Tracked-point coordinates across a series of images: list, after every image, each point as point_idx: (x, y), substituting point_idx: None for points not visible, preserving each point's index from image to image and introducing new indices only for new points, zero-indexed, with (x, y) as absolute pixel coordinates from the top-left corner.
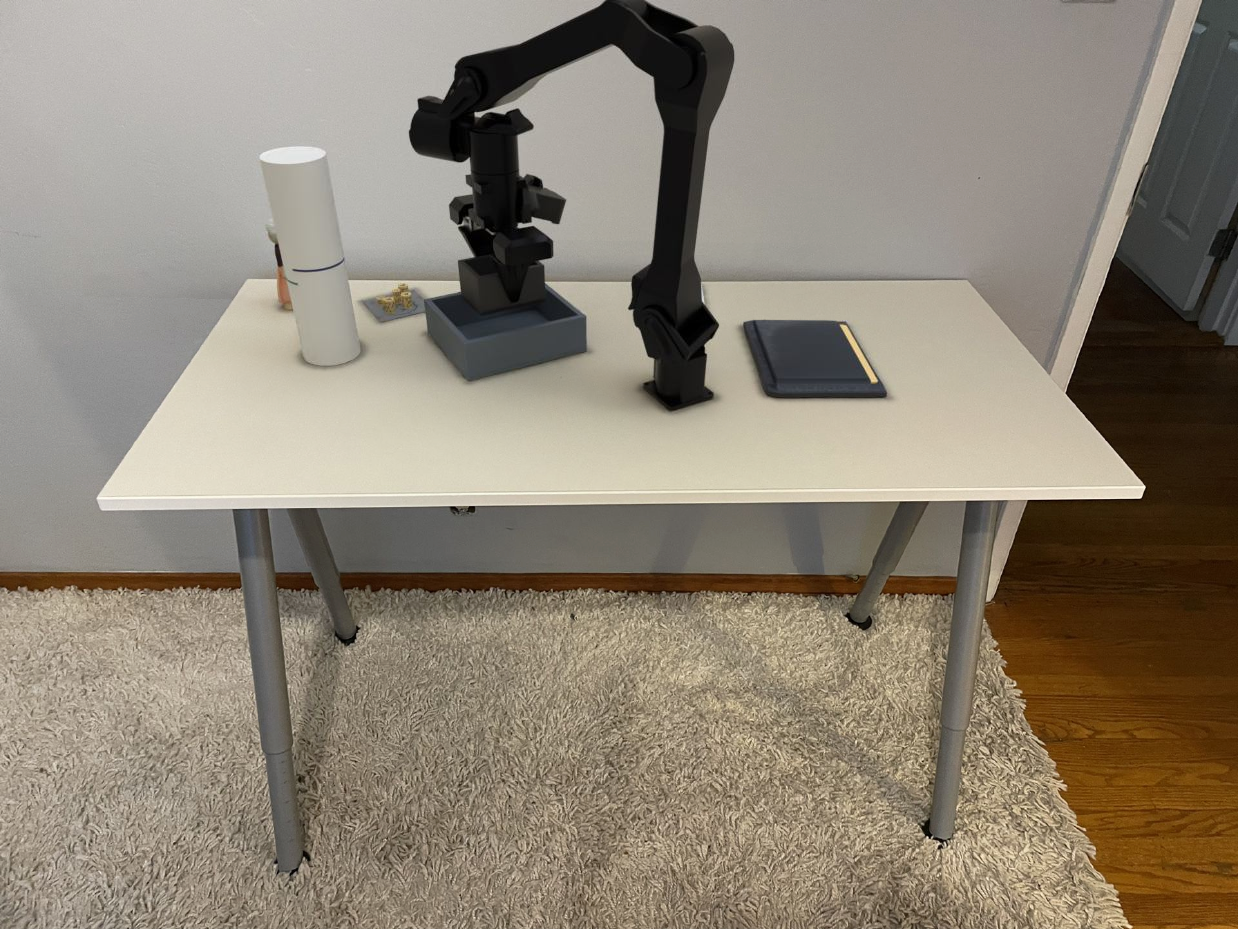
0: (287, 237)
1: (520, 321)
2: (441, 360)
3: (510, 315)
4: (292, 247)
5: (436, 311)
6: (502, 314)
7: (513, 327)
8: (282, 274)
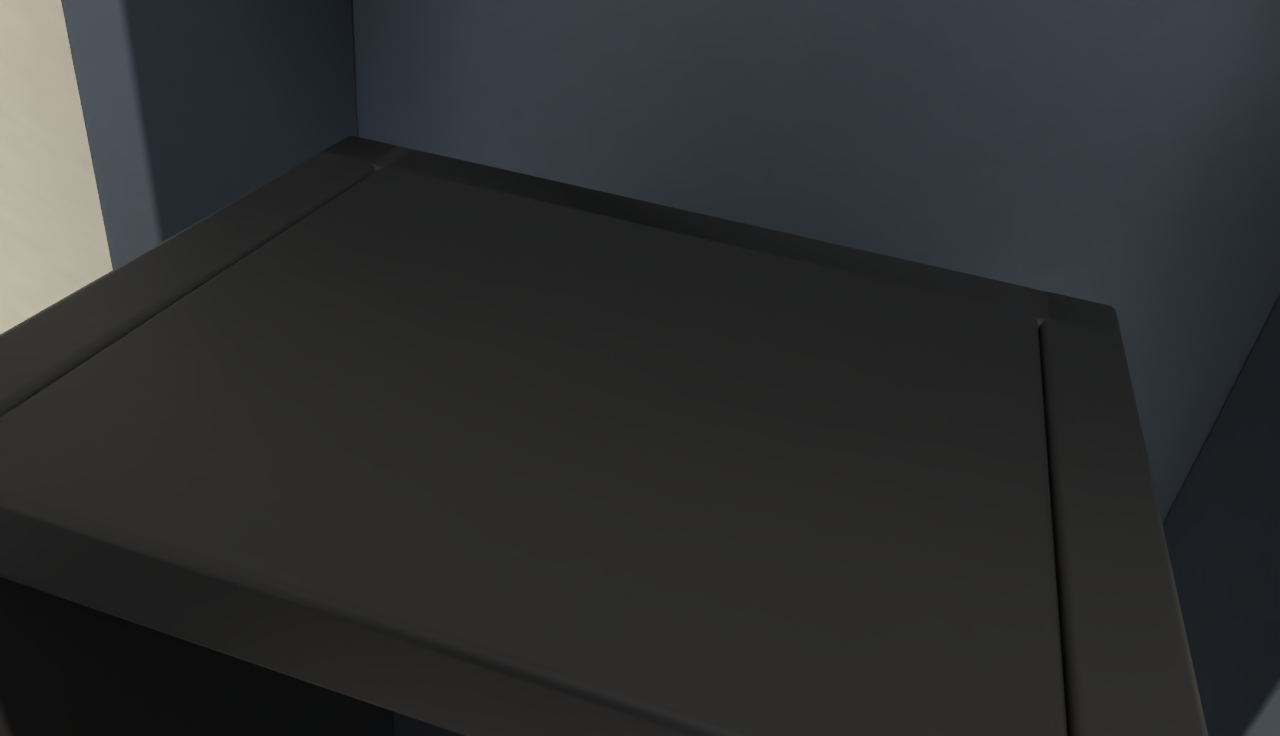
0: None
1: (527, 44)
2: None
3: (373, 44)
4: None
5: None
6: (349, 116)
7: (604, 174)
8: None
